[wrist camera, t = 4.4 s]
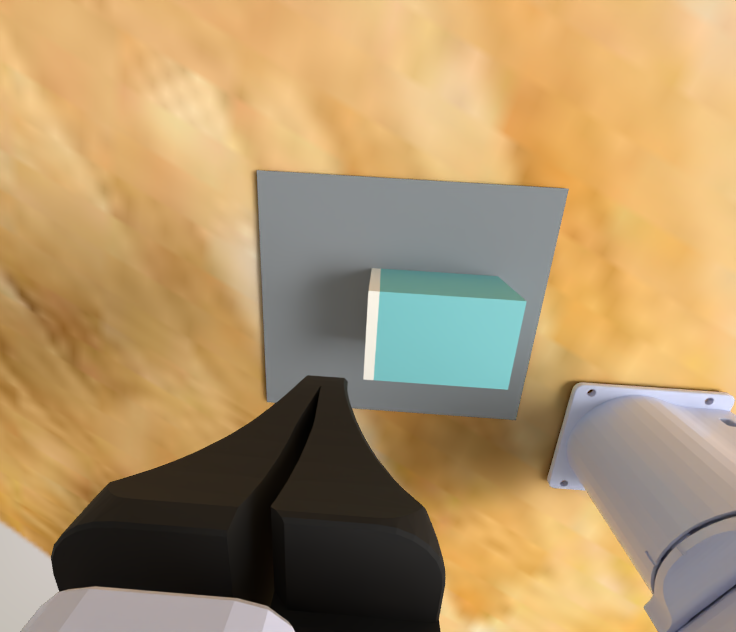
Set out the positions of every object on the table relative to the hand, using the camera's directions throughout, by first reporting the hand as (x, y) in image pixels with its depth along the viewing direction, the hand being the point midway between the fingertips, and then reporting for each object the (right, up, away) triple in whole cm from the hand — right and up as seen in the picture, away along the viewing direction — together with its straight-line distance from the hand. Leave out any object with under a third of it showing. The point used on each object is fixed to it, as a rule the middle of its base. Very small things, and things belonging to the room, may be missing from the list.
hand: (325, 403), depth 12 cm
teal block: (+1, +3, +7) cm, 8 cm away
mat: (+3, +3, +10) cm, 11 cm away
